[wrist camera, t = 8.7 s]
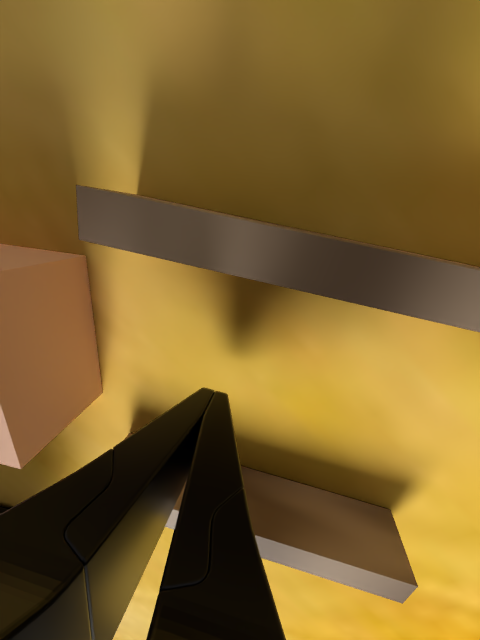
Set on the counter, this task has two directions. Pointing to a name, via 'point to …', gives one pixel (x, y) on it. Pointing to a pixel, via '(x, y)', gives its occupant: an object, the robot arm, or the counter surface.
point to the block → (43, 348)
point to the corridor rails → (321, 279)
